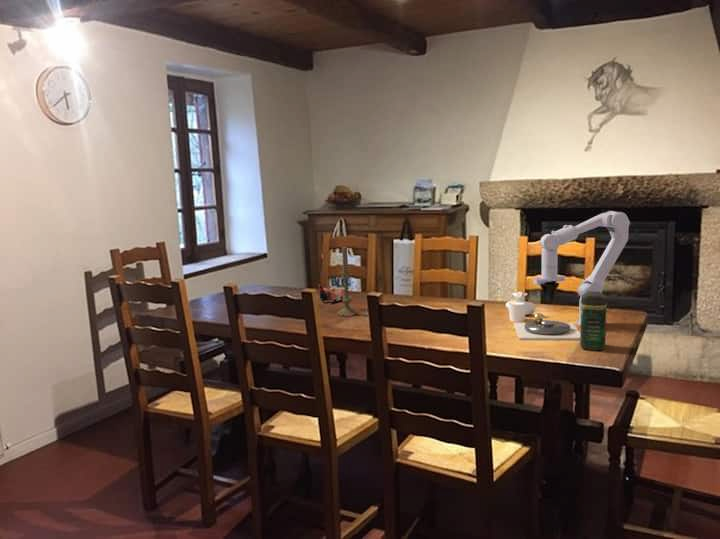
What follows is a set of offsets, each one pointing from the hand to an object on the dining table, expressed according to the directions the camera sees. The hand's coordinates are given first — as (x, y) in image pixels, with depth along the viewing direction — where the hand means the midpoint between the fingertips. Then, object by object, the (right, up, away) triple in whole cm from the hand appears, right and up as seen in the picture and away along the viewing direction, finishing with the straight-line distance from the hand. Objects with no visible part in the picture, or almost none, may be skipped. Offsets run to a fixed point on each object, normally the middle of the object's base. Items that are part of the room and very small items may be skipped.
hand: (549, 301), depth 236 cm
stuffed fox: (-85, -4, +63) cm, 106 cm away
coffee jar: (+6, -14, -29) cm, 33 cm away
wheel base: (-3, -11, -8) cm, 14 cm away
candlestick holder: (-77, -8, +34) cm, 85 cm away
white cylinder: (-9, -8, +12) cm, 17 cm away
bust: (-6, -7, +20) cm, 22 cm away
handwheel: (-3, -10, -8) cm, 13 cm away
